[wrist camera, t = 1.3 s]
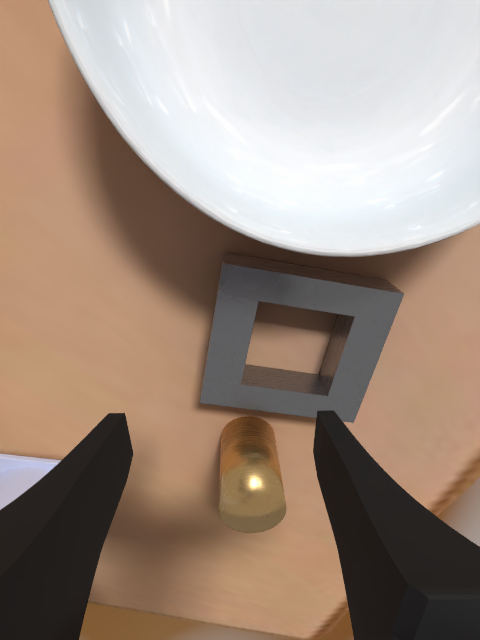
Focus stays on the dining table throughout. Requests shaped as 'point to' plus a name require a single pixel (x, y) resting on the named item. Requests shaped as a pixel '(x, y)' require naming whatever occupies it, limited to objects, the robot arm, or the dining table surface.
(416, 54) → the serving bowl
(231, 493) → the brass cylinder
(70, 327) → the dining table surface
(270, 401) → the frame
